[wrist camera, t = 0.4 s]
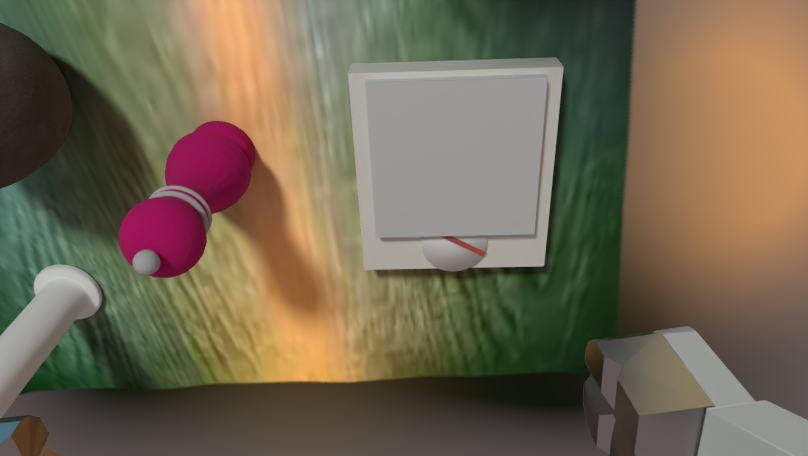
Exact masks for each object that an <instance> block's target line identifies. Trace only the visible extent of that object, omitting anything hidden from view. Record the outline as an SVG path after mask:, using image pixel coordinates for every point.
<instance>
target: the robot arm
mask: <svg viewBox="0 0 808 456" xmlns="http://www.w3.org/2000/svg"><path fill="white" fill-rule="evenodd" d="M585 363H586V365H587V366H588V368H589V370H590V372H591V374H592V375H591V376H590V377H589V379H588V380H587V381H586V382H585V383H584V387H583V404H584V411H585V416H586V421H587V424H588V427H589V430H590V433H591V436H592V438H593V440H594V442H595V444H596V446H597V447H598V448H599V449H601V450H602V451H604V452H605V453H607V454H608V455H610V456H808V420H806V419H804V418H802V417H800V416H798V415H796V414H794V413H791V412H789V411H787V410H785V409H783V408H781V407H779V406H777V405H775V404H773V403H771V402H769V401H766V400H765V401H757V402H756V401H755V400H754V399H753V398H752V396H751V395H750V394H749V393H748V392H747V391H746V389H745V388H744V387H743V386H742V385H741V384H740V383H739V381H738V380H737V379H736V378H735V376H734V375H733V374H732V373H731V372H730V371H729V369H728V368H727V367H726V366H725V365H724V364H723V363H722V361H721V360H720V359H719V358H718V356H717V355H716V354H715V353H714V352H713V351H712V349H711V348H710V347H709V346H708V345H707V343H706V342H705V341H704V340H703V339H702V338H701V337H700V335H699V334H698V333H697V332H696V331H695V330H694V329H692V328H690V327H688V326H685V327H678V328H672V329H666V330H659V331H655V332H649V333H643V334H635V335H628V336H621V337H613V338H606V339H599V340H592V341H589V343H588V345H587V348H586V356H585ZM48 436H49V432H48V430H47V428H46V427H45V425H44V423H43V422H42V420H41V419H40V417H36V416H31V415H25V416H17V417H8V418H0V456H61V455H60V454H57V453H56V452H54V451H53V450H51V449H49V448H47V447H46V446H44V445H45V443H46V441H47V438H48Z"/></svg>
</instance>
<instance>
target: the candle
mask: <svg viewBox="0 0 808 456" xmlns="http://www.w3.org/2000/svg"><path fill="white" fill-rule="evenodd" d="M34 291H35V294H36V297H35V298H34V299H33V300H32V301H31V302H30V303H29V304H28V306H27V307H26V308H25V309H24V310H23V311H22V312H21V313H20V315H19V316H18V317H17V318H16V319H15V320H14V321H13V322H12V324H11V325H10V326H9V327H8V328H7V329H6V330H5V331H4V333H3V334H2V335H1V336H0V418H1V417H2V416H3V414H4V413H5V412H6V411H7V409H8V408H9V407H10V405H11V404H12V402H13V401H14V400H15V399H16V397H17V396H18V395H19V393H20V392H21V391H22V389H23V388H24V387H25V385H26V384H27V383H28V381H29V380H30V379H31V377H32V376H33V375H34V373H35V372H36V371H37V369H38V368H39V367H40V366H41V364H42V363H43V362H44V360H45V359H46V358H47V356H48V355H49V354H50V352H51V351H52V350H53V348H54V347H55V346H56V344H57V343H58V342H59V340H60V339H61V338H62V336H63V335H64V334H65V332H66V331H67V330H68V328H69V327H70V326H71V325H72V323H73V322H74V321H75V319H84V318H87V317H90V316H92V315H93V314H94V313H96V312H97V310H98V309H99V308H100V306H101V303H102V292H101V289H100V287H99V285H98V283H97V282H96V281H95V280H94V279H93V278H92V277H91V276H90V275H89V274H88V273H86V272H84V271H83V270H81V269H79V268H76V267H73V266H69V265H52V266H49V267H47V268H45V269H43V270H42V271H41V272H40V273H39V274H38V275H37V277H36V278H35V281H34Z"/></svg>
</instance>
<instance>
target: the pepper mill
mask: <svg viewBox="0 0 808 456" xmlns="http://www.w3.org/2000/svg"><path fill="white" fill-rule="evenodd" d="M254 161H255V151H254V147H253V145H252V142H251V140H250V139H249V137H248V136H247V135H246V134H245V133H244V132H243V131H242V130H241V129H240V128H238V127H236V126H235V125H232V124H230V123H227V122H223V121H211V122H207V123H204V124H202V125H201V126H199V127H198V128H197V129H196V130H195V131H194V132H193V133H191V134H188V135H186V136H184V137H183V138H182V139H180V140H179V141H178V142H177V143H176V144H175V145H174V147H173V149H172V150H171V152H170V154H169V156H168V159H167V163H166V170H165V178H166V185H167V186H165V187H162V188H160V189H158V190H156V191H155V192H154V193H153V194H152V195H151V196H150V198H149V199H146V200H144V201H142V202H140V203H138V204H137V205H135V206H134V207H133V208H132V209H131V210H130V211H129V212H128V213H127V214H126V216H125V218H124V219H123V221H122V224H121V227H120V231H119V245H120V248H121V251H122V253H123V255H124V257H125V258H126V260H127V261H128V262H129V263H130V264H131V265H132V266H133V267H134V269H135V271H137V272H138V273H139V274H142V275H149V276H153V277H159V278H170V277H174V276H178V275H181V274H183V273H185V272H187V271H188V270H189V269H191V268H192V267H193V266H194V265H195V264H196V263H197V262H198V261H199V259H200V258H201V257H202V255H203V253H204V249H205V246H206V242H207V238H206V234H207V232H208V231H209V229H210V226H211V223H212V214H213V213H217V212H220V211H222V210H225V209H227V208H228V207H230V206H231V205H233V204H235V203H236V202H237V201H238V200H239V199H240V198H241V196H242V195H243V194H244V193H245V191H246V189H247V187H248V185H249V182H250V176H251V169H252V167H253V165H254Z"/></svg>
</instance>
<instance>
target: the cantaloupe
mask: <svg viewBox="0 0 808 456" xmlns="http://www.w3.org/2000/svg"><path fill="white" fill-rule="evenodd" d="M72 119H73V104H72V99H71V95H70V91H69V88H68V85H67V83H66V81H65V79H64V77H63V75H62V73H61V71H60V70H59V68H58V67H57V65H56V64H55V62H54V61H53V60H52V58H51V57H50V56H49V55H48V54H47V53H46V52H45V51H44V49H43V48H41V47H40V46H39V45H38V44H37V43H35V42H34V41H33V40H32V39H30V38H29V37H27V36H26V35H24V34H22V33H21V32H19V31H17V30H15V29H13V28H11V27H9V26H6V25H4V24H2V23H0V188H3V187H6V186H9V185H11V184H13V183H15V182H17V181H19V180H21V179H23V178H24V177H26V176H28V175H29V174H31V173H32V172H34V171H35V170H37V169H38V168H39V167H41V166H42V165H44V164H45V163H46V162H48V161H49V160H50V159H51V158H52V157H53V156H54V154H55V153H56V151H57V150H58V148H59V147H60V145H61V144H62V142H63V141H64V139H65V137H66V136H67V134H68V132H69V130H70V127H71V124H72Z"/></svg>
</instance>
